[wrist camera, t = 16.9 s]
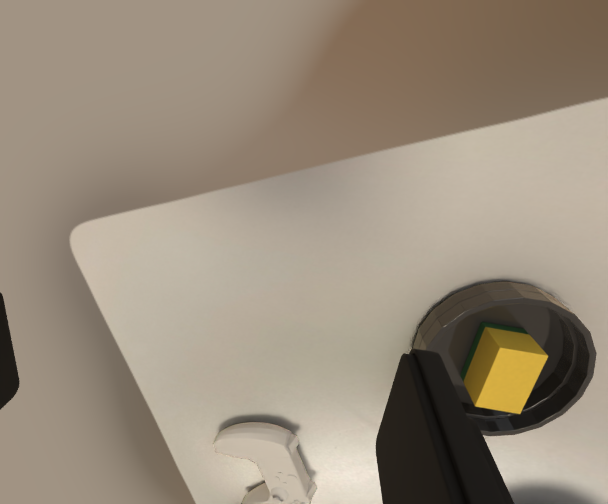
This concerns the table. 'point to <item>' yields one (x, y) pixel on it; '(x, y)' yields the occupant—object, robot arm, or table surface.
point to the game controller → (269, 462)
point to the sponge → (502, 367)
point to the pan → (540, 326)
